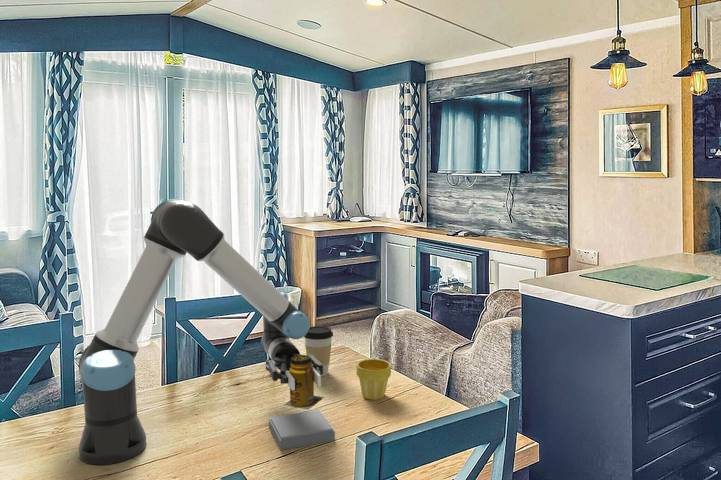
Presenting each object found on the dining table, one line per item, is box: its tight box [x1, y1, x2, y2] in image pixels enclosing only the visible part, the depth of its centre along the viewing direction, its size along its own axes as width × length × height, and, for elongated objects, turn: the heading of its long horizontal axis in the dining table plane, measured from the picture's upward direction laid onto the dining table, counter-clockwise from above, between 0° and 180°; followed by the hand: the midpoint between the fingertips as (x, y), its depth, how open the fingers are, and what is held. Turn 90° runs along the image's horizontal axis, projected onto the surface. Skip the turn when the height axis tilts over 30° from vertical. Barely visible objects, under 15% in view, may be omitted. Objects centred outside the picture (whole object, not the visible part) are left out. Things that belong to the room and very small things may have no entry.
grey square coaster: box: [268, 409, 336, 451], centre depth 150 cm, size 14×13×3 cm
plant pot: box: [356, 358, 392, 401], centre depth 175 cm, size 10×10×10 cm
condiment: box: [283, 354, 325, 411], centre depth 149 cm, size 7×8×12 cm
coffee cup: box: [303, 325, 334, 377], centre depth 193 cm, size 10×10×15 cm
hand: (306, 382), depth 144 cm, fingers closed on condiment, 6 cm apart
